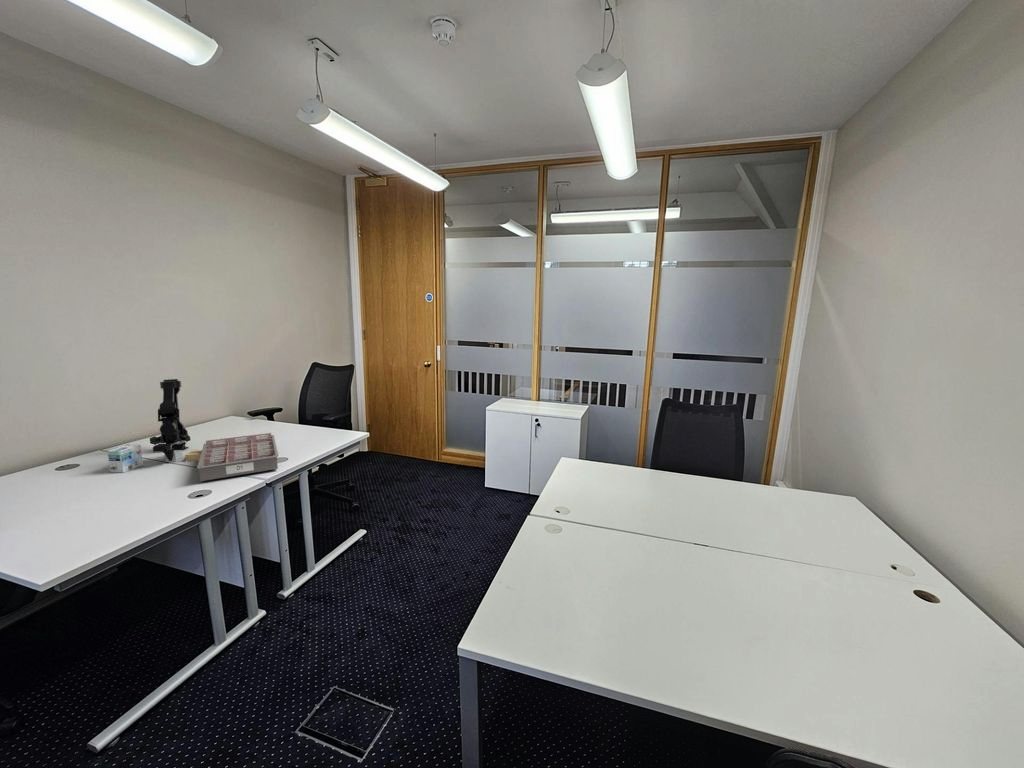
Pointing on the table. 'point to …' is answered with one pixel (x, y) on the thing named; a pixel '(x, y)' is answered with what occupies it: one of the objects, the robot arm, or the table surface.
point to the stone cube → (175, 456)
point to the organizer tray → (237, 456)
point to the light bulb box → (125, 458)
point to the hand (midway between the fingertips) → (174, 459)
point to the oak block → (193, 455)
